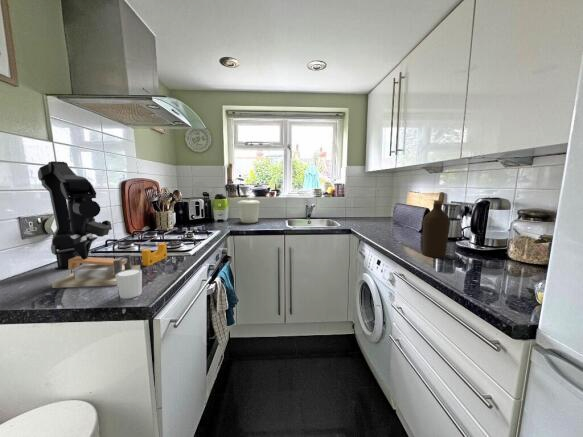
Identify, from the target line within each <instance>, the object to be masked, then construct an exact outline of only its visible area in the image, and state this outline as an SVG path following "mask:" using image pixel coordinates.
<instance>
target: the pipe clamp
mask: <svg viewBox="0 0 583 437" xmlns="http://www.w3.org/2000/svg"><path fill="white" fill-rule="evenodd" d="M141 258H142V260H141V262H142V266H146V267H148V266H151V265H153V264H156V263H158V262H159V261H162V260H164V259H166V258H168V251H167V243H163V242H161V243H158V244H157V250H155V251H153V252H152V251H151V249H148V248H144V249H143V250H141Z"/></svg>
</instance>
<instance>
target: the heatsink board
mask: <svg viewBox="0 0 583 437" xmlns="http://www.w3.org/2000/svg"><path fill="white" fill-rule="evenodd" d="M124 258H128V261H127V263H125V264H124V265H121V260H114V261H113V263H114V266H112V265H98V264H84V265H83V266H80V267H78V268H77V269H75V270H73V271H72V273H70V274H68V275H67V276H64V277H62V278H61V279H58V280H56V281H53V282H52V283H51V286H52V288H53V289H54V288H55V289H56V288H57V289H58V288H79V287H105V286H106V287H107V286H118V285H117V281H116V277H115V275H116V274H117V273H119V272H121V271H125V270H130V269H139V270H141V264H132V255H131V254H124V255H123V259H124Z"/></svg>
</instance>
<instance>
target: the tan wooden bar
mask: <svg viewBox="0 0 583 437" xmlns="http://www.w3.org/2000/svg"><path fill="white" fill-rule="evenodd" d="M114 260H121V265H122V266H123V265H124V264H125V263H127V261H128V258H124V257H123V258H122V259H119V258H108V257H107V258H106V257H105V258H104V257H90V256H88V257H87V259H82V258H81V256H76V257H74V258H71V259H69V260H68V270H70V271H71V270H74V269H76V268H79V267H81V265H80V263H83V264H84V265H87V264H98V265H112V266H114V263H113V261H114Z"/></svg>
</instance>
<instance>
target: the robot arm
mask: <svg viewBox="0 0 583 437" xmlns="http://www.w3.org/2000/svg"><path fill="white" fill-rule="evenodd" d="M37 176H38V177H37V178H38V180H39V181H40V182H41V186H42V187H43V188H44V189H45V190H46V191H47V192H48V193H49V197H50V203H51V207H52V211H53V216H54V221H55V225H56V226H55V227H56V229H55V230H54V233H53V234H52V238H51V245H50V250H51V254H52V255H54V256H55V257H56V263H57V266H56V267H54V269H55V270H65V269H68V260H69V259H71V258H74V257H76V256H80V257H81V258H82V259H87V257H89V254H90V249H91V246H92V244H93V242H95V241H96V240H97V239H98V237H99V238H100V237H101V238H103V237H105V236H108V235H109V233H110V232H109V231H111V230H112V229H113V228H112V227H113V226H112V223H111V221H110V220H107V219H105V220H103V221H102V222H101V221H98V222H97V221H96V219H95V217H97V216H98V215H100V214H101V213H100V212H101V206H100V204H99V202H97V201H95V200H93V199H97V192H96V190H95V187H94V186H93V185H92V183H91V182H90V181H89V179H88V178H85V176H80V175H77V174H76V173H75V171H73V170H72V168H70V167H69V165H68V163H67V162H65V161H48V163H47V164H45V165H42V166H41V167H39V168H38V170H37ZM82 264H83V263H80V266H81V265H82ZM68 270H69V269H68Z"/></svg>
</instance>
